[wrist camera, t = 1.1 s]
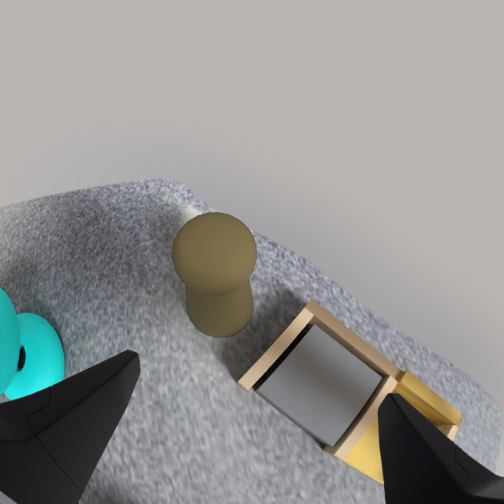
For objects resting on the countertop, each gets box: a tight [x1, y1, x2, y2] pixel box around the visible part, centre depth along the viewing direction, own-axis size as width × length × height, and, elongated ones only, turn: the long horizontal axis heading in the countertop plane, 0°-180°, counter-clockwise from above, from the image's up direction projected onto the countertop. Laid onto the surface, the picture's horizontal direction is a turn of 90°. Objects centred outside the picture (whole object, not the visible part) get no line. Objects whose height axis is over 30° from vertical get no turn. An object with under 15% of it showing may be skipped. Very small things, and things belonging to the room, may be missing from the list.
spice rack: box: [237, 299, 463, 485], centre depth 19 cm, size 9×20×4 cm, turn 48°
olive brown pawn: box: [172, 212, 257, 338], centre depth 20 cm, size 6×6×11 cm
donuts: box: [0, 288, 65, 400], centre depth 15 cm, size 10×10×10 cm
